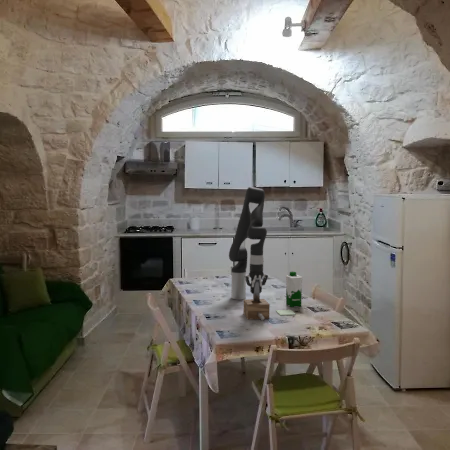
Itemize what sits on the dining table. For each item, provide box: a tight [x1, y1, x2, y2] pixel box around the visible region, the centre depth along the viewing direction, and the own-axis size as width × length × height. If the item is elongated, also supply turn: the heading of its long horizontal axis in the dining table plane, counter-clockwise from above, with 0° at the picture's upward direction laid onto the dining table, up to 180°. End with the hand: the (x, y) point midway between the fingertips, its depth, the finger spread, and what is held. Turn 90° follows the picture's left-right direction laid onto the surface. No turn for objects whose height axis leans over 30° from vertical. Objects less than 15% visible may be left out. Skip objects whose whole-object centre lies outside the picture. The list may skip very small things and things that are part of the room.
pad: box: [275, 309, 296, 317], centre depth 266 cm, size 9×9×1 cm
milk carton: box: [285, 271, 304, 308], centre depth 282 cm, size 9×9×20 cm
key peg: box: [252, 278, 261, 302], centre depth 258 cm, size 5×5×13 cm
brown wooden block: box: [242, 298, 270, 321], centre depth 255 cm, size 21×12×8 cm, turn 9°
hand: (255, 293), depth 259 cm, fingers closed on key peg, 3 cm apart
